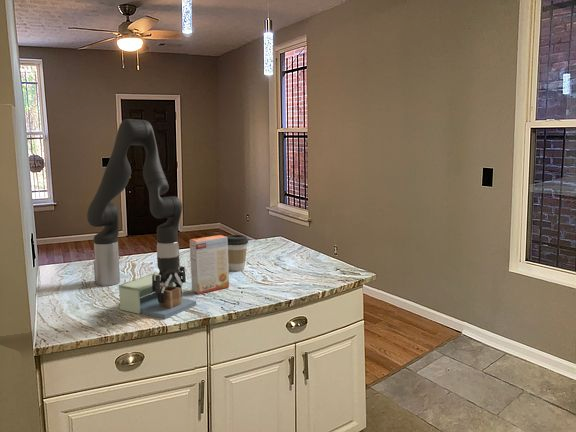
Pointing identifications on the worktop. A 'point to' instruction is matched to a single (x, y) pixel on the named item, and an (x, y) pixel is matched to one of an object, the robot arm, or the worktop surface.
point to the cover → (136, 293)
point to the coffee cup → (236, 252)
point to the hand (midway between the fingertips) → (170, 299)
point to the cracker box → (209, 263)
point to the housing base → (152, 308)
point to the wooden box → (171, 297)
